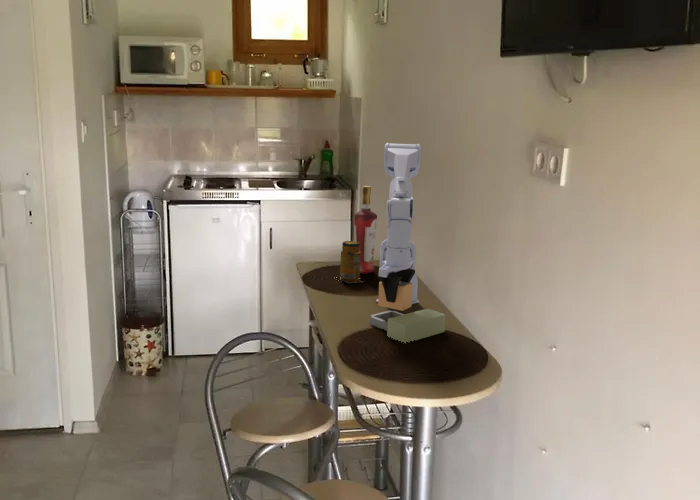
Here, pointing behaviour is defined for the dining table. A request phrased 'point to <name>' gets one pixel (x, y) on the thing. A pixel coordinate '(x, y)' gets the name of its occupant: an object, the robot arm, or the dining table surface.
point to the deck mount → (410, 324)
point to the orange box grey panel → (397, 297)
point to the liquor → (365, 232)
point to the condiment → (350, 261)
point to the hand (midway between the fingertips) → (395, 299)
